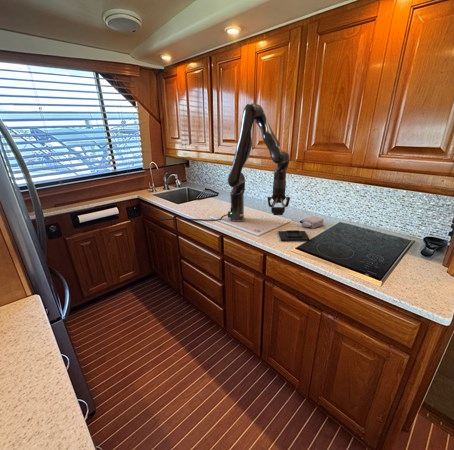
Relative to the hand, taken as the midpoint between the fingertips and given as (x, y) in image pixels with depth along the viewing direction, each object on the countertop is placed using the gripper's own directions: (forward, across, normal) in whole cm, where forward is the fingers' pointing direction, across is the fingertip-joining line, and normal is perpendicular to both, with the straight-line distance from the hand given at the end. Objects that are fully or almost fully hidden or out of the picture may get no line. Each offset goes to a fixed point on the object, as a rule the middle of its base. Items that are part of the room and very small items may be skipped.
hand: (277, 212), depth 148 cm
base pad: (+11, -8, +12) cm, 18 cm away
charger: (+11, -22, -4) cm, 25 cm away
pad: (+1, 0, 0) cm, 1 cm away
